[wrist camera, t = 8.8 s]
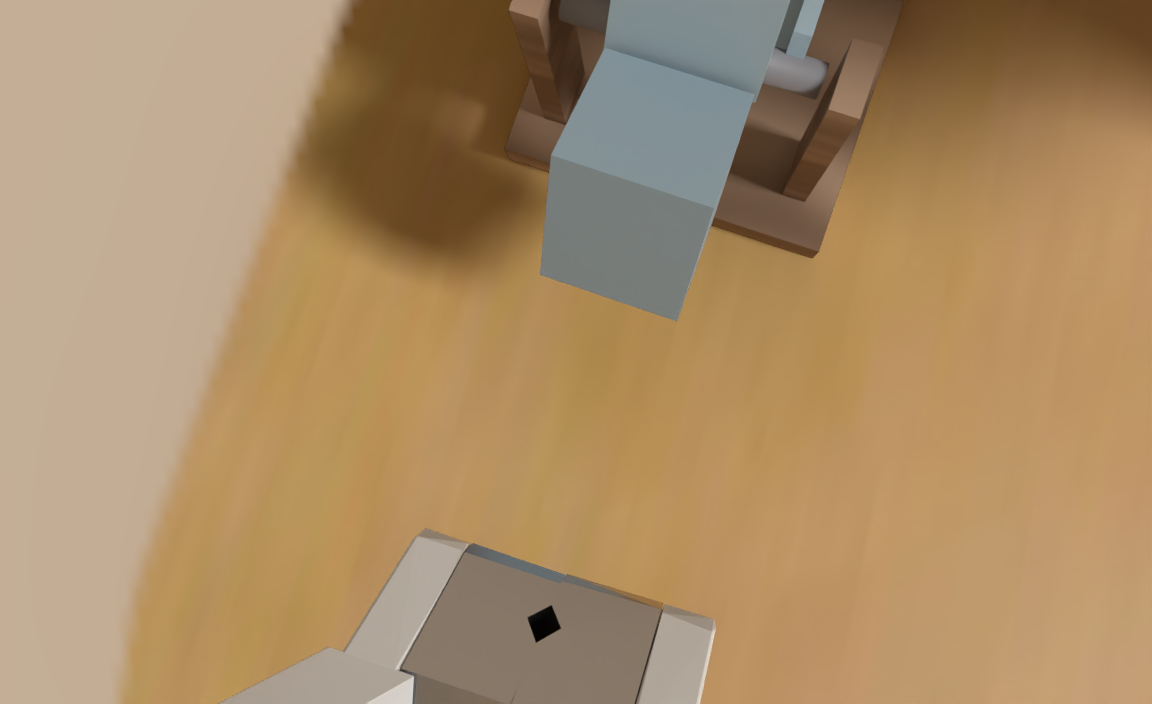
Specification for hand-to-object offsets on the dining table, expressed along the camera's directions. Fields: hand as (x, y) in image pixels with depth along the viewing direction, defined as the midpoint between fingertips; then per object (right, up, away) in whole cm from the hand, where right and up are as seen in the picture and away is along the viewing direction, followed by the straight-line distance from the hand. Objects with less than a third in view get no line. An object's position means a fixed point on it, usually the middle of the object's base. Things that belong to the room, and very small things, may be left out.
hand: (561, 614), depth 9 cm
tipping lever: (+4, +12, +28) cm, 31 cm away
